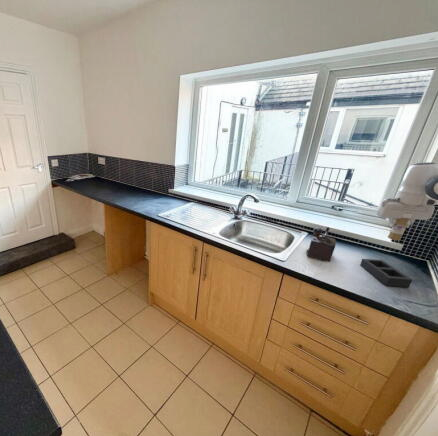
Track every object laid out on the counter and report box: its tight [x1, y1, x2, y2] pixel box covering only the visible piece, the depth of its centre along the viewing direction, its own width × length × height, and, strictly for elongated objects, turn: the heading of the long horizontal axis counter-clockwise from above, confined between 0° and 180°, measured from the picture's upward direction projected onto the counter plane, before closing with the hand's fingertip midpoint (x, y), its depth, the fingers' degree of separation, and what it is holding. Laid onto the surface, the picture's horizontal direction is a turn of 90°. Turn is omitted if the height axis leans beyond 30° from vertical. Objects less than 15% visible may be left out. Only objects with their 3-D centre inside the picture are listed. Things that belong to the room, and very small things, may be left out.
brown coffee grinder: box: [306, 226, 337, 263], centre depth 125 cm, size 16×11×18 cm
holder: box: [359, 258, 413, 288], centre depth 112 cm, size 9×16×4 cm, turn 173°
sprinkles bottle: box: [387, 214, 412, 242], centre depth 114 cm, size 5×5×14 cm
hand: (398, 227), depth 114 cm, fingers closed on sprinkles bottle, 4 cm apart
